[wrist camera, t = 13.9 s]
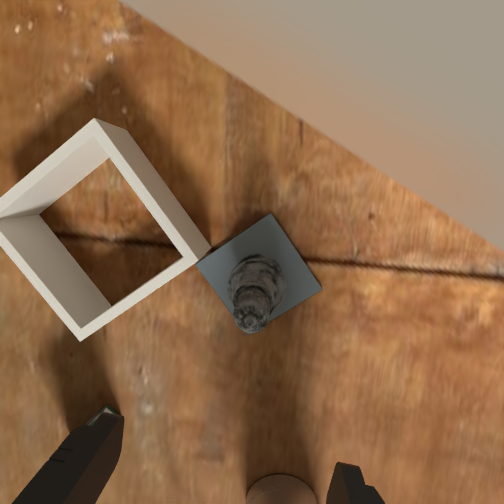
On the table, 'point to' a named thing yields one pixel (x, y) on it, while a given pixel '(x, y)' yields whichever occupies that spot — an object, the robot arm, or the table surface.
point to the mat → (268, 243)
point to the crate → (53, 251)
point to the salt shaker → (255, 291)
